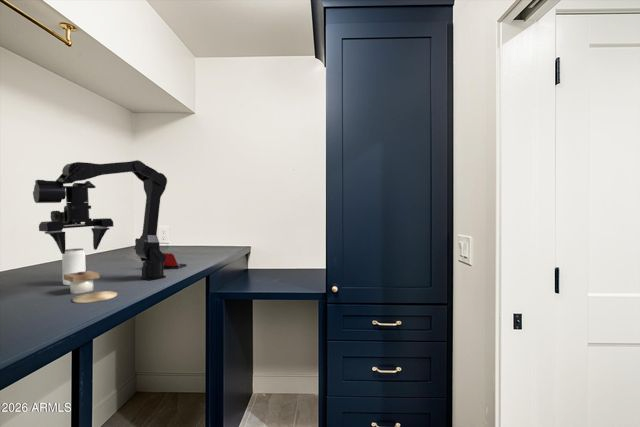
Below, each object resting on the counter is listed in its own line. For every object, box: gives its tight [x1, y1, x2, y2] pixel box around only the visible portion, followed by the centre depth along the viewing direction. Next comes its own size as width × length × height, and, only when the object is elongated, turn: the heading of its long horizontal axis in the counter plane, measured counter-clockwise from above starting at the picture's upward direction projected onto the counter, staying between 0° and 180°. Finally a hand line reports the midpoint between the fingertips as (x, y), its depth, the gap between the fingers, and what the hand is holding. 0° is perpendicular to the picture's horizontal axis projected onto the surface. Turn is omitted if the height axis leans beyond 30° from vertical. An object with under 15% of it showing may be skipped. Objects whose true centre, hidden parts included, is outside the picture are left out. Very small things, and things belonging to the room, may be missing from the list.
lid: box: [64, 270, 100, 282], centre depth 105 cm, size 7×7×2 cm
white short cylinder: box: [69, 279, 94, 295], centre depth 105 cm, size 6×6×4 cm
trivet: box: [72, 290, 118, 304], centre depth 98 cm, size 11×11×1 cm
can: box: [61, 248, 87, 286], centre depth 116 cm, size 6×6×12 cm
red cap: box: [162, 252, 188, 270], centre depth 145 cm, size 12×11×7 cm
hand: (79, 251), depth 105 cm, fingers open, 9 cm apart
